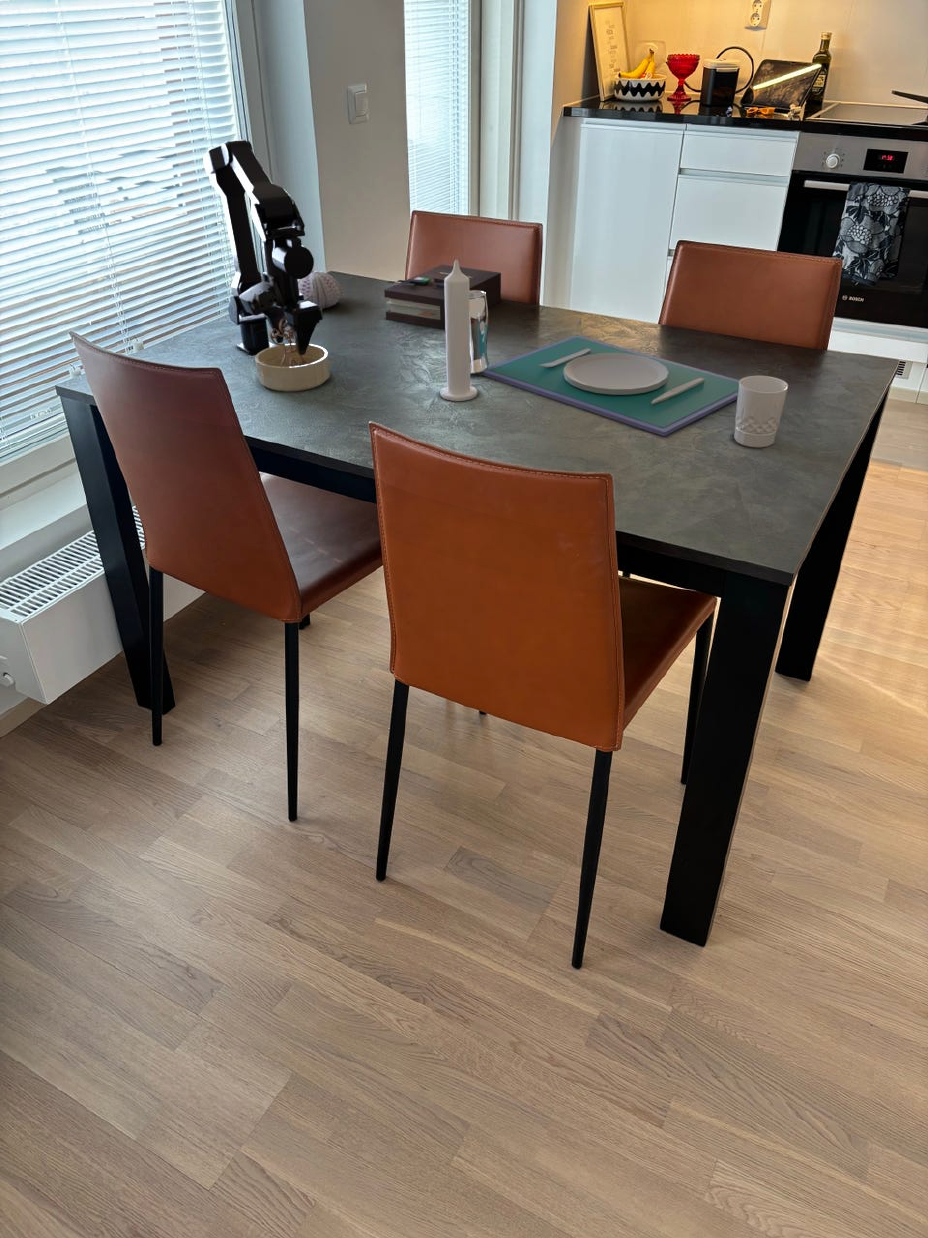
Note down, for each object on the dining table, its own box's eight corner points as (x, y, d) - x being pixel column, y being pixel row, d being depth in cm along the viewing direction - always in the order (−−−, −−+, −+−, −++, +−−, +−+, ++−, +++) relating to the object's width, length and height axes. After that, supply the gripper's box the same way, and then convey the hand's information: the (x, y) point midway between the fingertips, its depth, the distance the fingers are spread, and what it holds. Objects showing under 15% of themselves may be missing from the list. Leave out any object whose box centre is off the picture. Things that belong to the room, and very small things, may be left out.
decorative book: (510, 267, 228) (444, 299, 207) (509, 298, 232) (445, 333, 211) (442, 258, 236) (373, 287, 215) (443, 288, 240) (376, 320, 219)
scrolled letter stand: (309, 368, 192) (302, 309, 185) (318, 373, 189) (312, 314, 183) (270, 378, 188) (261, 318, 181) (279, 384, 185) (271, 323, 178)
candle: (481, 389, 182) (481, 256, 168) (470, 403, 177) (468, 266, 163) (447, 386, 184) (444, 253, 170) (435, 399, 179) (430, 263, 165)
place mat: (479, 373, 190) (479, 363, 188) (576, 337, 207) (576, 327, 206) (663, 436, 163) (665, 424, 162) (756, 389, 180) (758, 377, 179)
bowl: (246, 377, 190) (243, 353, 187) (308, 362, 197) (305, 338, 194) (279, 398, 181) (276, 372, 178) (343, 381, 188) (340, 356, 185)
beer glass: (488, 374, 187) (483, 297, 179) (454, 375, 189) (447, 298, 181) (494, 364, 193) (489, 289, 185) (461, 365, 194) (455, 290, 187)
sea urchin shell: (318, 315, 223) (315, 281, 219) (276, 307, 230) (272, 273, 225) (353, 301, 232) (351, 268, 228) (312, 293, 239) (308, 261, 234)
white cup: (724, 431, 164) (732, 376, 159) (768, 429, 165) (778, 374, 159) (739, 450, 158) (748, 393, 152) (784, 448, 158) (795, 391, 153)
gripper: (220, 264, 179) (232, 345, 188) (265, 285, 166) (276, 370, 175) (272, 254, 184) (282, 333, 193) (319, 274, 172) (328, 357, 181)
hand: (291, 348), depth 185 cm, fingers open, 9 cm apart
